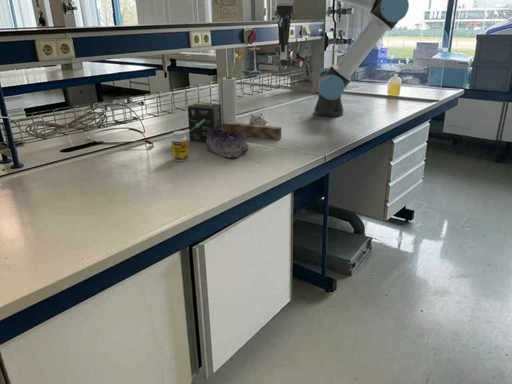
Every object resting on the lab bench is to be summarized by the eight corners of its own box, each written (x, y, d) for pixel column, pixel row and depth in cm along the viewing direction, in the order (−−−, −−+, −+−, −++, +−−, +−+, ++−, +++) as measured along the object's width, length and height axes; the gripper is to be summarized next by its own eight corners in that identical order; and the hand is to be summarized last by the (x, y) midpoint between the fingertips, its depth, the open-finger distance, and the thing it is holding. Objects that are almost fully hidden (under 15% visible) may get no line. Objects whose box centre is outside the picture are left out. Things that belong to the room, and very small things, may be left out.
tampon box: (222, 138, 178) (221, 103, 172) (213, 144, 170) (212, 108, 164) (199, 135, 182) (197, 101, 176) (189, 141, 174) (187, 106, 168)
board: (281, 138, 177) (281, 127, 175) (278, 140, 175) (279, 129, 173) (225, 132, 186) (224, 121, 184) (222, 134, 183) (221, 123, 181)
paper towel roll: (239, 123, 200) (238, 77, 192) (229, 126, 196) (228, 79, 188) (228, 121, 205) (227, 76, 196) (219, 123, 201) (217, 77, 192)
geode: (194, 150, 163) (195, 124, 160) (217, 147, 171) (218, 123, 169) (230, 160, 150) (231, 132, 147) (252, 157, 158) (254, 130, 155)
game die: (260, 140, 187) (265, 126, 179) (243, 133, 187) (247, 119, 179) (267, 127, 192) (272, 113, 184) (250, 120, 192) (254, 105, 184)
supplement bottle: (173, 162, 150) (171, 134, 145) (172, 157, 155) (170, 130, 150) (189, 161, 151) (187, 133, 147) (188, 156, 156) (186, 129, 152)
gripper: (281, 5, 197) (280, 57, 206) (272, 4, 186) (271, 60, 195) (296, 5, 194) (294, 58, 204) (288, 4, 183) (286, 61, 193)
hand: (283, 59), depth 200 cm, fingers closed
